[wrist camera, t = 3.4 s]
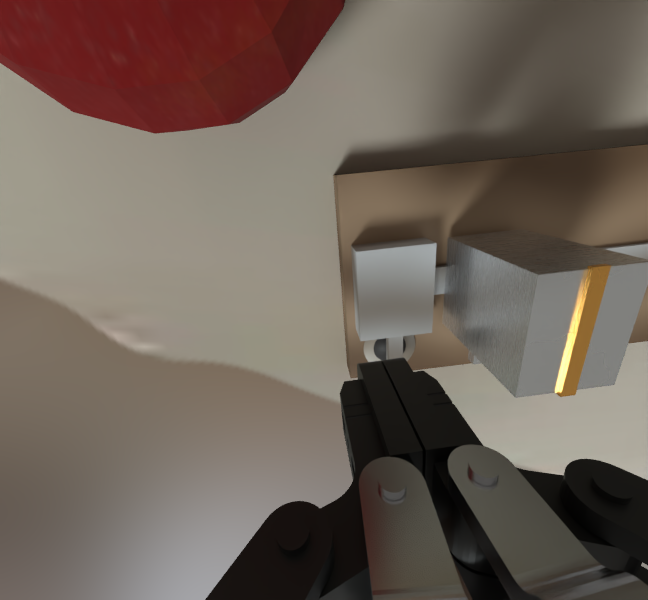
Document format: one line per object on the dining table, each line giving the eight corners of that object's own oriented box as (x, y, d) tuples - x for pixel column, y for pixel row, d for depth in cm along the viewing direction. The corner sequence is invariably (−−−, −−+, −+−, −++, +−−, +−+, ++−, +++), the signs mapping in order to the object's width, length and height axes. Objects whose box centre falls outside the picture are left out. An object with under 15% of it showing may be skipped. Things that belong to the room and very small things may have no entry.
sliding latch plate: (333, 175, 16) (340, 175, 14) (689, 140, 17) (765, 133, 14) (347, 364, 21) (354, 393, 18) (627, 329, 22) (675, 352, 19)
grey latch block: (447, 235, 16) (542, 273, 10) (522, 227, 16) (661, 259, 10) (439, 359, 19) (508, 448, 13) (503, 351, 19) (601, 435, 13)
